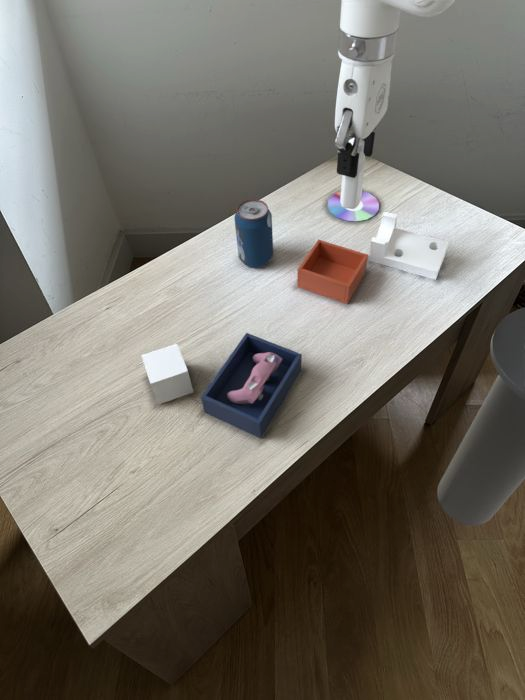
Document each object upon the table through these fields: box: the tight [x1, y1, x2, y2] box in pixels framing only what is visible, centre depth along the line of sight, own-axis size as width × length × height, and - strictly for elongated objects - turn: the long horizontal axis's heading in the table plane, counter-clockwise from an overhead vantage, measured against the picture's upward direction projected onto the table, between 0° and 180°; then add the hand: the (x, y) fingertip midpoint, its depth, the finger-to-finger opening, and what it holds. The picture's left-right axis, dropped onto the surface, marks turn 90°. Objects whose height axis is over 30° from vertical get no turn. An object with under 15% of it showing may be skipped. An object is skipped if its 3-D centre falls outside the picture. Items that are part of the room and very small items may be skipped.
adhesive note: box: [140, 343, 194, 406], centre depth 84 cm, size 6×6×6 cm
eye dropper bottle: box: [340, 137, 367, 209], centre depth 84 cm, size 4×6×12 cm
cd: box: [327, 190, 380, 222], centre depth 113 cm, size 11×11×1 cm
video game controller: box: [227, 352, 282, 404], centre depth 82 cm, size 10×5×7 cm, turn 151°
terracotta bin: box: [296, 239, 369, 305], centre depth 97 cm, size 10×9×5 cm
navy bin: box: [200, 332, 303, 439], centre depth 83 cm, size 10×14×5 cm
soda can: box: [234, 199, 274, 269], centre depth 99 cm, size 7×7×12 cm
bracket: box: [369, 211, 450, 281], centre depth 99 cm, size 13×7×8 cm, turn 64°
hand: (354, 163), depth 83 cm, fingers closed on eye dropper bottle, 5 cm apart
